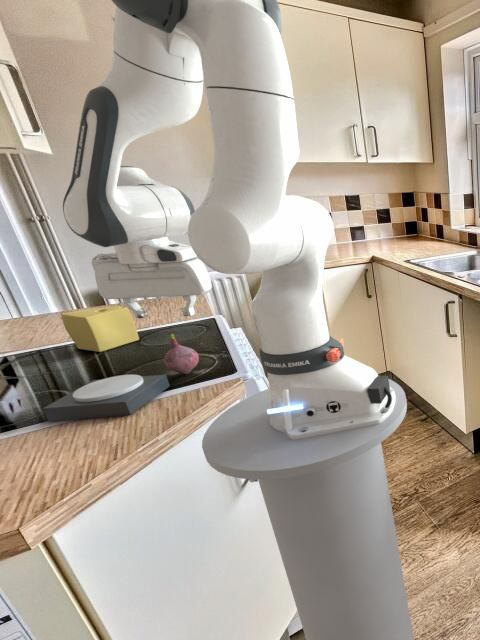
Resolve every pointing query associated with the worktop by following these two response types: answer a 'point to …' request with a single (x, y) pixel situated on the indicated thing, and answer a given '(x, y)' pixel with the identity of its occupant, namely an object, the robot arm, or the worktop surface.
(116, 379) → the scale
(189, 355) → the vegetable
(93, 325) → the cheese
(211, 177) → the robot arm
